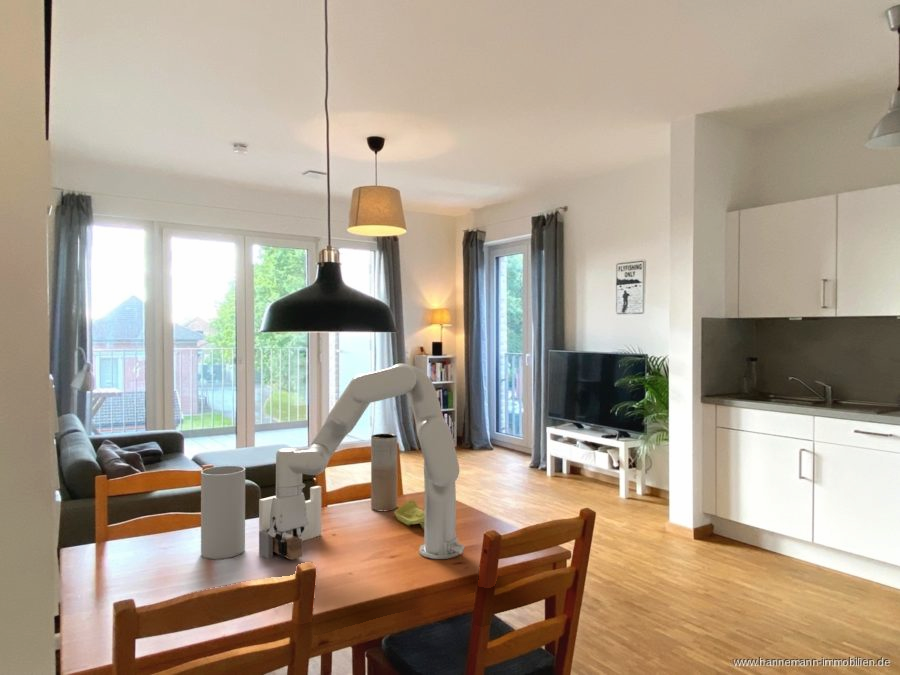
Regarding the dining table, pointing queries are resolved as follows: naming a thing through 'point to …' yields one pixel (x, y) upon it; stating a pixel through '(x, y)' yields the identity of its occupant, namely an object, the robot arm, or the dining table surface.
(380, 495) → the planter
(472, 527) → the dining table surface
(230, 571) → the dining table surface
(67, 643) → the dining table surface
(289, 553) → the rectangular block
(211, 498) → the cylinder vase
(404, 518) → the plastic component
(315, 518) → the headboard
